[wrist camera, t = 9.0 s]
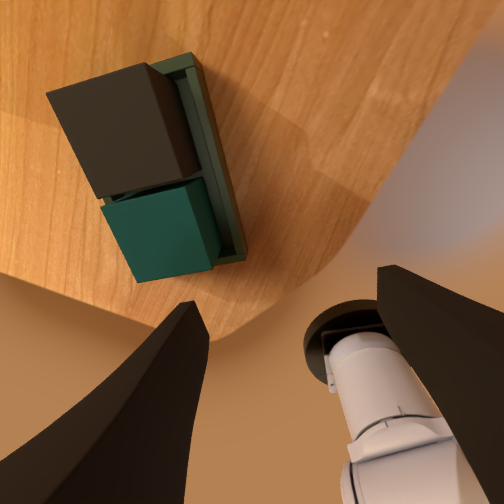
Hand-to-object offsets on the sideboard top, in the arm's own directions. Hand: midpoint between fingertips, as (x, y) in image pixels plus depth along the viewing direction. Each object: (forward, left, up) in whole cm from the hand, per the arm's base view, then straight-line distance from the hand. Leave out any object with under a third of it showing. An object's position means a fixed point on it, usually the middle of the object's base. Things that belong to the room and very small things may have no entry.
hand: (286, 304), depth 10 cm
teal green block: (+2, +7, -9) cm, 11 cm away
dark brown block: (+8, +7, -9) cm, 14 cm away
